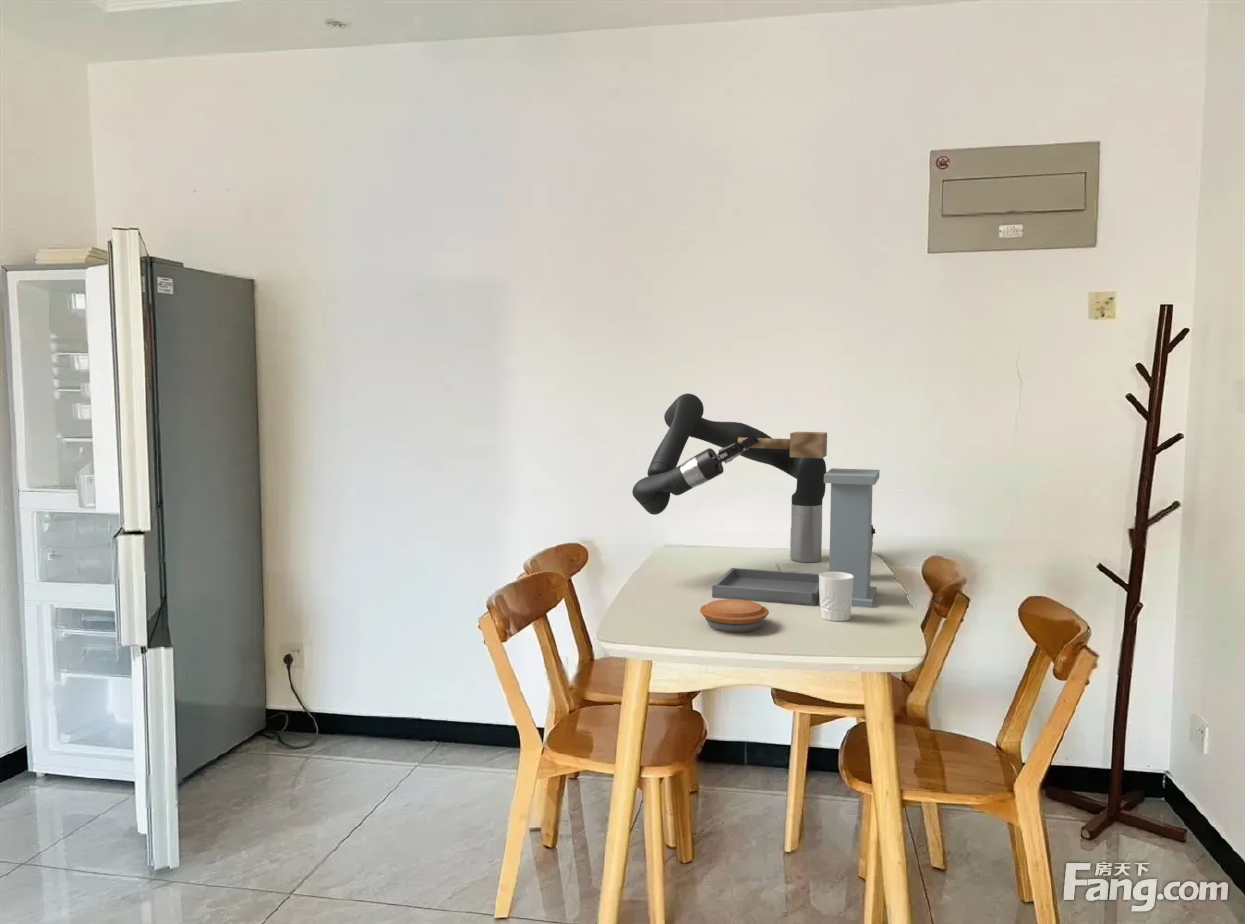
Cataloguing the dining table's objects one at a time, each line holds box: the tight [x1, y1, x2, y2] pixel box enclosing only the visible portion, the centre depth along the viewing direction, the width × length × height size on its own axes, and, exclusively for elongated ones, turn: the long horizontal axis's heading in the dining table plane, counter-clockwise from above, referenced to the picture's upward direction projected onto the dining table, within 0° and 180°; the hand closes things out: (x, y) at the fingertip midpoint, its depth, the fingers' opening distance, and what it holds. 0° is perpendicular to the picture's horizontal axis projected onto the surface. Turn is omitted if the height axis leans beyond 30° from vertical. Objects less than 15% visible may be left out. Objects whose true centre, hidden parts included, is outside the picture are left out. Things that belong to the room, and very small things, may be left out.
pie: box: [699, 598, 770, 633], centre depth 196 cm, size 16×16×5 cm
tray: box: [711, 567, 820, 607], centre depth 227 cm, size 26×22×3 cm
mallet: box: [738, 431, 828, 459], centre depth 223 cm, size 22×9×6 cm, turn 70°
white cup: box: [818, 571, 854, 622], centre depth 202 cm, size 8×8×10 cm
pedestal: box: [824, 467, 880, 608], centre depth 219 cm, size 12×16×32 cm
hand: (758, 437), depth 225 cm, fingers closed on mallet, 2 cm apart
